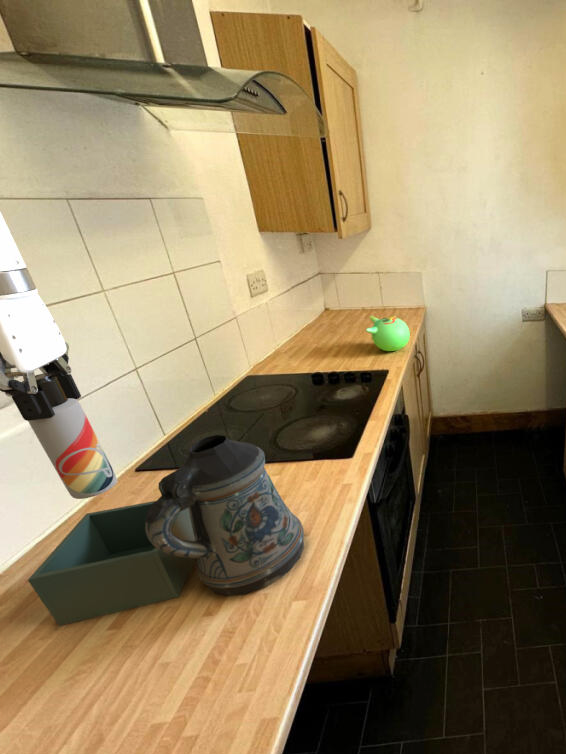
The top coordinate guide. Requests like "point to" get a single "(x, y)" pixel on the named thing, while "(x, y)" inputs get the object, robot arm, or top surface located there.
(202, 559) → the beer stein
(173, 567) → the bin
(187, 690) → the top surface
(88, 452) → the lotion bottle
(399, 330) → the green space hopper
